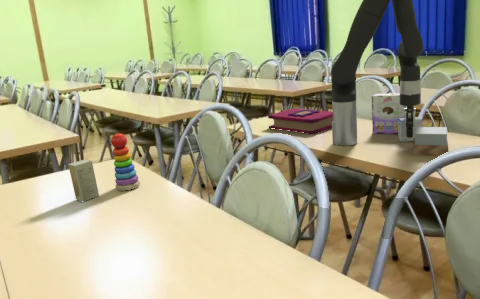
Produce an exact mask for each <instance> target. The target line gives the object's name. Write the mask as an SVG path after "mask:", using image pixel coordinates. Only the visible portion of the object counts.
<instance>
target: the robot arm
mask: <svg viewBox="0 0 480 299" xmlns="http://www.w3.org/2000/svg"><path fill="white" fill-rule="evenodd" d="M390 1H391V3H392V4H391V5H392V10H393V17H394V21H395V26H396V31H397V32H398V33H399V34H400V36H401V37H400V38H401V41H400V42H399V44H398V48H397V56H398V61H399V67H400V68H399V69H400V78H399V79H400V83H399V93H400V105H403V106H407V109H405V110H404V114H405V122H406V128H407V137H408V138H412V137H413V127H414V126H413V122H414V121H415V117H416V108H415V106H419V105H421V103H422V102H421V100H422V98H421V96H422V86H421V85H422V84H421V83H422V82H421V67H420V65H419V63H418V59H417V58H418V57H420V56H421V55H422V53H423V51H424V42H423V38H422V35H421V32H420V30H419V28H418V27H419V26H418V24H417V17H416V12H415V11H416V10H415V7H414V3H413V0H362V2H361V3H360V5H359V7H358V9H357V12H356V13H355V16H354V18H353V21H352V23H351V25H350V29H349V31H348V35H347V37H346V38H347V39H346V42H345V44H344V46H343V48H342V50H341V52H340V54H339V55H338V57H337V59H336V61H334V63H333V64H332V66H331V70H330V75H331V76H330V77H331V102H332V106H331V107H332V108H331V109H332V112H333V121H332V128H331V134H332V136H331V137H332V145H335V146H339V147H340V146H343V147H348V146H353V145H356V144H358V119H357V116H358V113H357V84H356V82H357V81H356V76H357V74H356V73H357V70H358V68H359V65H360V62H361V60H362V57H363V54H364V53H365V50H366V49H367V47H368V45H369V44H370V43H371V40H372V38H373V37H374V36H375V33H376V32H377V30H378V28H379V26H380V24H381V22H382V19H383V17H384V15H385V13H386V10H387V8H388V5H389V3H390ZM408 122H412V124H408Z"/></svg>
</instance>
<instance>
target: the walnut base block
mask: <svg viewBox="0 0 480 299" xmlns="http://www.w3.org/2000/svg"><path fill="white" fill-rule="evenodd" d="M448 142H449V141H447V146H443V145H415V137H414V141H413V146H412V147H413V148H412V149H413V150H412V151H413V152H412V156H422V157H423V156H426V157H427V156H429V157H430V156H431V157H433V156H435V157H440V156H439V155H442V154H444V153H446V152H448V153H449V143H448Z"/></svg>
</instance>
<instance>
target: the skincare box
mask: <svg viewBox="0 0 480 299" xmlns="http://www.w3.org/2000/svg"><path fill="white" fill-rule="evenodd" d="M68 169H69V173H70V178H71V183H72V188H73V192H74V196H75V200H76V199H77V200H76V201H78V200H79V201H78V202H80V201H81V202H80V203H83V202H82V201H84V202H87V201H90V200H92V199H91V198H93V199H95V198H98V197H100V192H99V188H98V184H97V179H96V173H95V168H94V164H93V160H91V159H87V158H84V159H80V160H78V161H74V162H71V163H68ZM97 196H98V197H97ZM94 197H95V198H94ZM89 199H90V200H89ZM86 200H87V201H86Z"/></svg>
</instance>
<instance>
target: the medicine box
mask: <svg viewBox="0 0 480 299" xmlns="http://www.w3.org/2000/svg"><path fill="white" fill-rule="evenodd" d="M408 124H412V122H408ZM422 125H423V120H422V118H421V117H419V116H415V121H414V122H413V126H414V127H413V137H412V138H408V137H407V128H406V122H405V118H399V119H398V134H397V135H398V136H397V137H398V139H397V140H398V141H400V143H404V142H406V143H407V142H414V137H415V132H416V128H417V127H423V126H422Z"/></svg>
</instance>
